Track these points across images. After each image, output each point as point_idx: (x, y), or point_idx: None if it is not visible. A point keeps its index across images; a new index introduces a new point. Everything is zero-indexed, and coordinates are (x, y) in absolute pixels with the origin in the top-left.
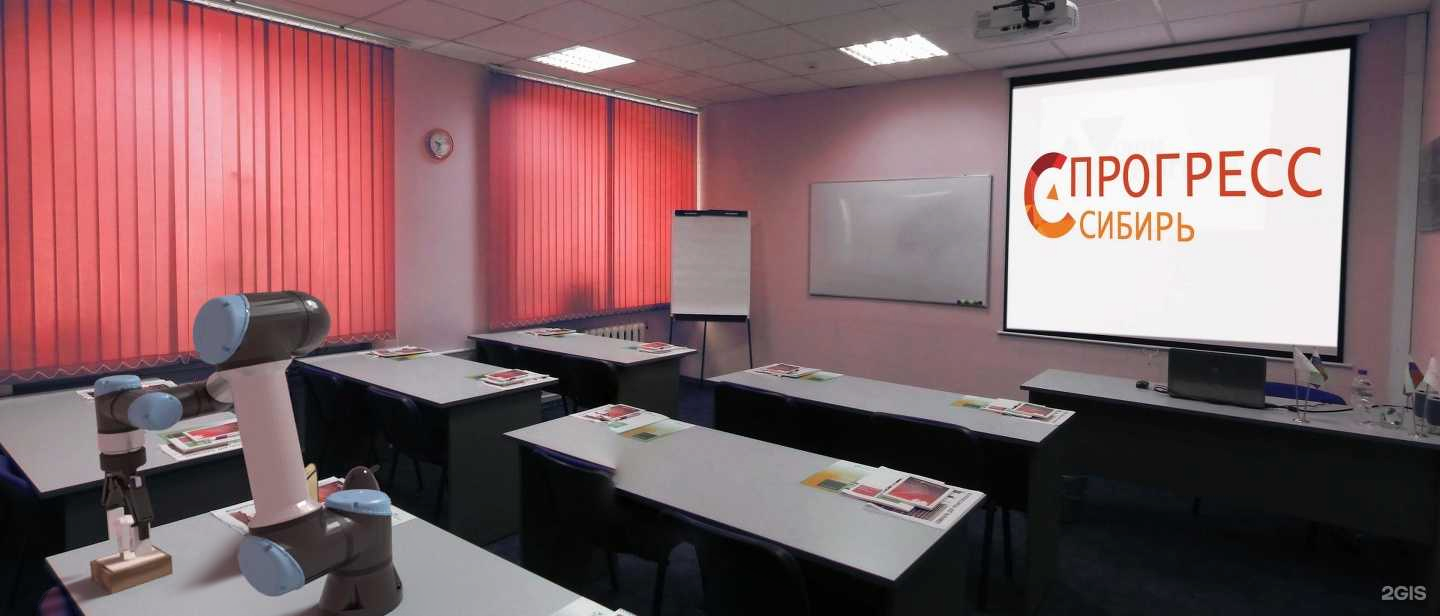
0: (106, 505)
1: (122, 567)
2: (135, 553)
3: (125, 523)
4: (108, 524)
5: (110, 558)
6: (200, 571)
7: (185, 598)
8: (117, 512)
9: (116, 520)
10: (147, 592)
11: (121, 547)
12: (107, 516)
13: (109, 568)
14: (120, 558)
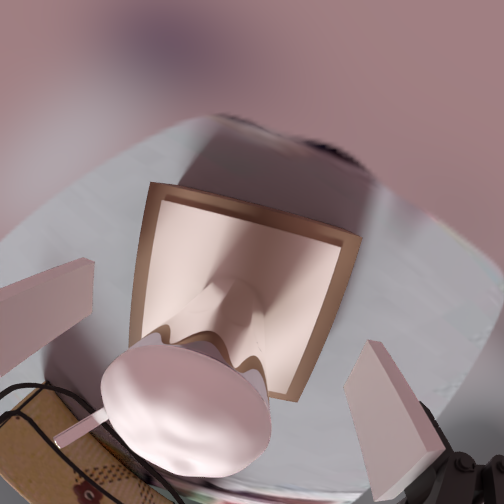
0: (464, 476)
1: (162, 234)
2: (79, 261)
3: (108, 378)
4: (402, 389)
5: (297, 276)
6: (110, 346)
7: (33, 240)
8: (388, 468)
9: (185, 399)
10: (106, 228)
11: (206, 295)
12: (428, 423)
13: (200, 210)
14: (235, 279)
